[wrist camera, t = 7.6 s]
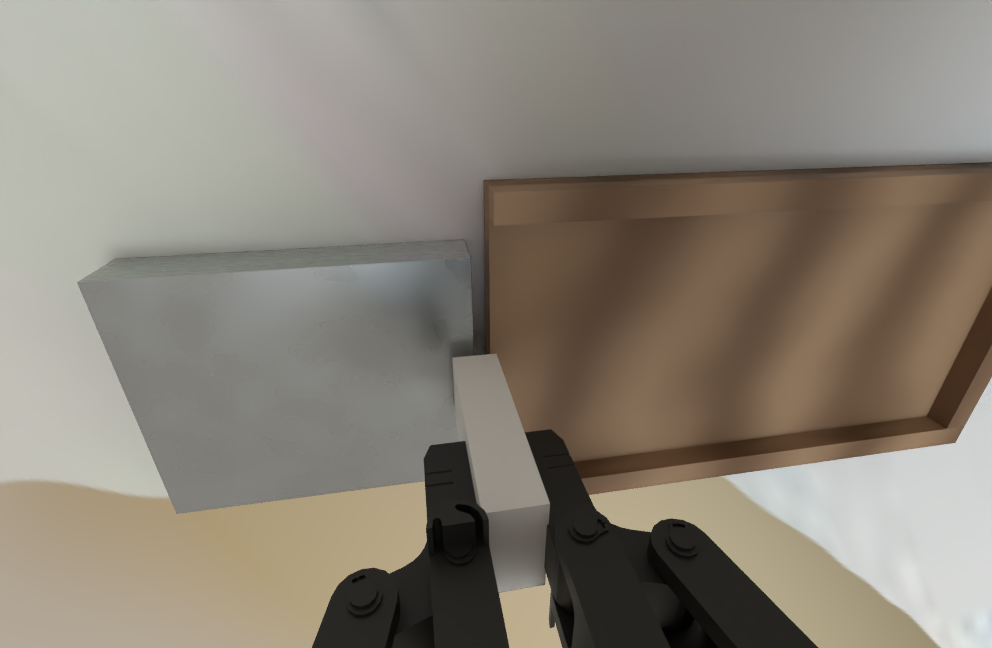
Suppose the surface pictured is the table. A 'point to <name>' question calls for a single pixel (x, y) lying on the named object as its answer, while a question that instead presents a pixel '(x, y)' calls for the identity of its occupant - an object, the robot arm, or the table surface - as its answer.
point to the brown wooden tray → (741, 314)
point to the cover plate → (287, 364)
